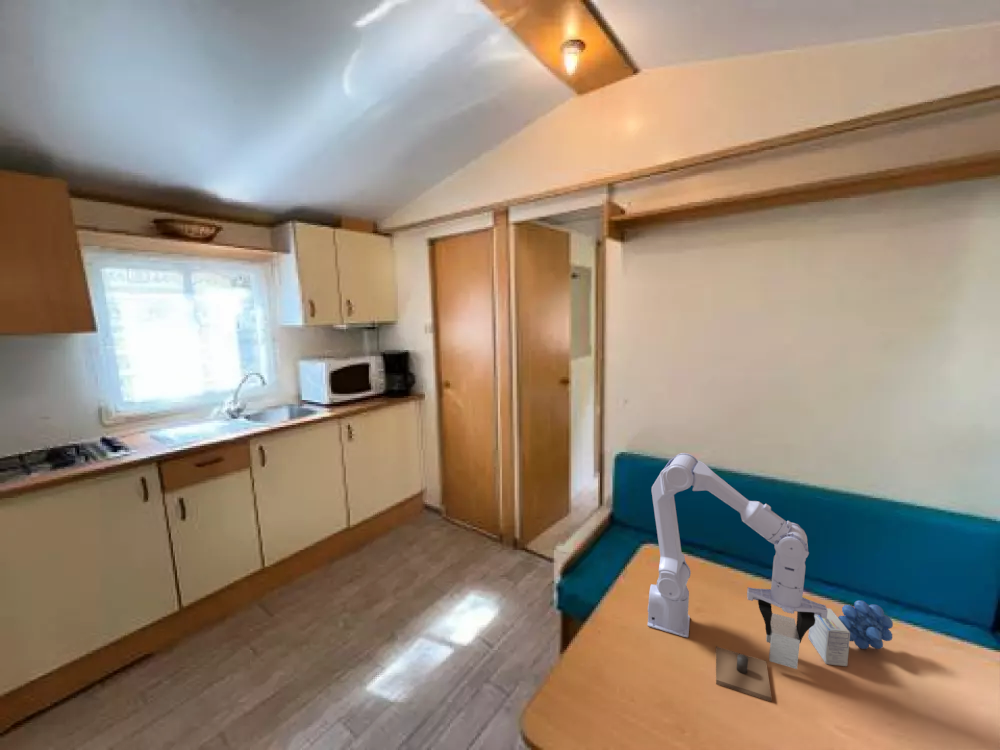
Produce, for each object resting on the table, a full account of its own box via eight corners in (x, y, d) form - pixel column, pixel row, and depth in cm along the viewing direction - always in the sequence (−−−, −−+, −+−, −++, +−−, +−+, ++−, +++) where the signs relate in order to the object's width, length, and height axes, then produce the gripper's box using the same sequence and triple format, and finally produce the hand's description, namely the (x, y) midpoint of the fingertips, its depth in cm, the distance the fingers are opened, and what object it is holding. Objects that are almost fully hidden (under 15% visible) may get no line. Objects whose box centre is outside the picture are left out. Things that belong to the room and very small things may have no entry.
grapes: (847, 661, 96) (852, 613, 94) (828, 638, 103) (833, 593, 101) (904, 665, 94) (911, 616, 93) (881, 641, 101) (887, 596, 99)
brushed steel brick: (769, 661, 94) (772, 632, 92) (766, 638, 100) (768, 612, 99) (796, 669, 91) (799, 640, 90) (791, 646, 98) (794, 618, 96)
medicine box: (847, 667, 94) (851, 632, 93) (824, 664, 95) (828, 630, 94) (828, 640, 102) (831, 608, 101) (807, 638, 103) (810, 605, 101)
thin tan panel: (716, 683, 91) (717, 667, 90) (715, 650, 100) (716, 634, 99) (771, 701, 87) (772, 684, 86) (765, 664, 95) (767, 649, 95)
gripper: (750, 582, 92) (746, 637, 94) (833, 601, 86) (826, 660, 88) (748, 564, 99) (744, 617, 101) (825, 580, 92) (819, 636, 94)
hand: (782, 635), depth 95 cm, fingers closed on brushed steel brick, 5 cm apart
